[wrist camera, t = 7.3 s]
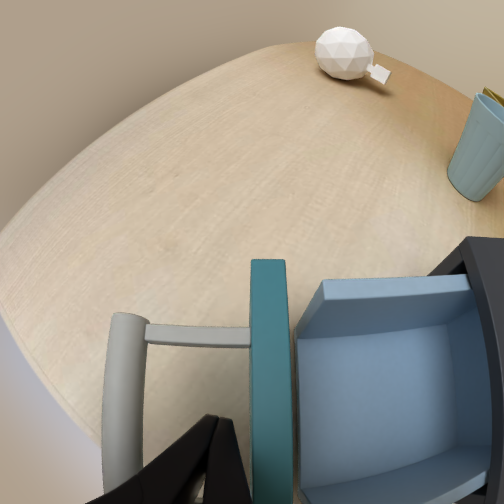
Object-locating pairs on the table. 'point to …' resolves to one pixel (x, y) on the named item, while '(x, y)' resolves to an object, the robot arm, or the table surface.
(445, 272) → the drawer cabinet
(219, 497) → the robot arm
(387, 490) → the teal drawer
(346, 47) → the perfume bottle
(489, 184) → the cup
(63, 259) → the table surface
